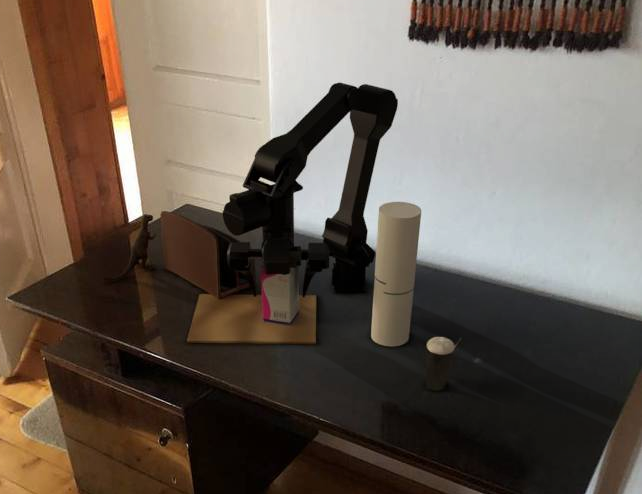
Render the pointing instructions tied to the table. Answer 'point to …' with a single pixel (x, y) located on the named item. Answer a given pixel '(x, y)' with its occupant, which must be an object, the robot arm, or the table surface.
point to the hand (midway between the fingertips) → (279, 296)
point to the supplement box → (280, 296)
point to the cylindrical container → (395, 272)
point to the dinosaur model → (139, 249)
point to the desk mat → (249, 321)
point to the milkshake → (438, 362)
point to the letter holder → (200, 255)
